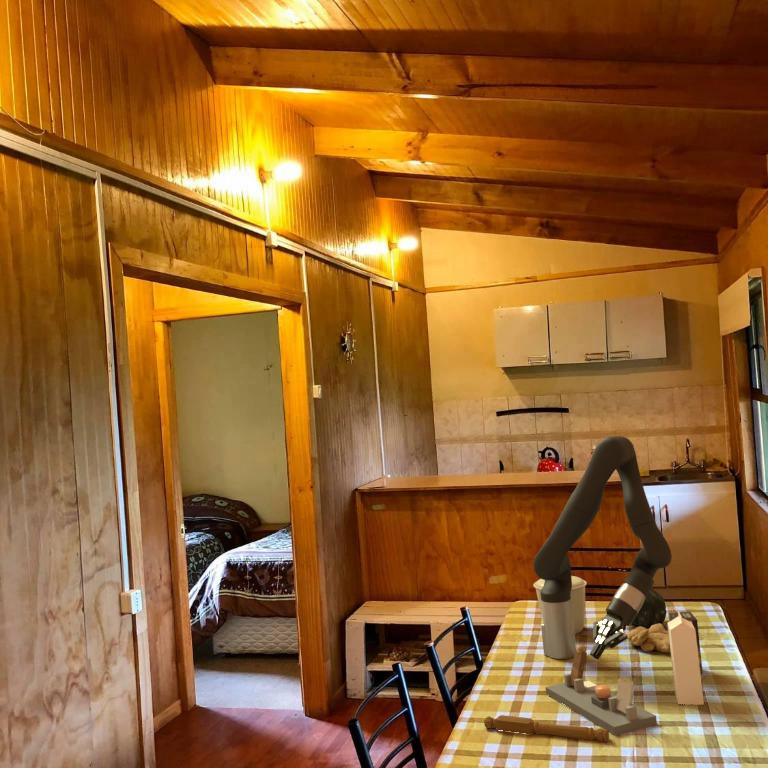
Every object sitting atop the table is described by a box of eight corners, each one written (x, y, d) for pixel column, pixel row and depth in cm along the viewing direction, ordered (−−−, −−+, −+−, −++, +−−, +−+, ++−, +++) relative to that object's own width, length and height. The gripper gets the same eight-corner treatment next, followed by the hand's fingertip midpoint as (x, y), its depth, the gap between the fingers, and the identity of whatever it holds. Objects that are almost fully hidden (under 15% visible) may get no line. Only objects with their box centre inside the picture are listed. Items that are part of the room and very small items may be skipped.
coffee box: (704, 679, 199) (697, 619, 200) (679, 680, 201) (673, 620, 201) (697, 667, 208) (690, 610, 209) (673, 668, 210) (667, 611, 210)
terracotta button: (605, 691, 187) (604, 683, 187) (613, 696, 183) (612, 688, 184) (593, 694, 186) (592, 686, 186) (601, 699, 182) (600, 691, 182)
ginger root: (626, 634, 239) (629, 611, 239) (677, 649, 232) (681, 624, 232) (618, 652, 225) (622, 627, 225) (673, 667, 218) (677, 641, 218)
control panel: (583, 685, 203) (581, 666, 204) (656, 724, 175) (654, 702, 175) (546, 694, 199) (544, 675, 199) (615, 735, 171) (612, 714, 171)
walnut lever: (575, 684, 199) (583, 644, 200) (582, 687, 196) (589, 647, 197) (567, 682, 198) (575, 642, 199) (573, 686, 195) (581, 645, 197)
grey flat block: (618, 707, 180) (621, 678, 181) (631, 714, 175) (634, 684, 176) (615, 707, 180) (618, 678, 181) (628, 714, 175) (631, 684, 176)
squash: (638, 599, 264) (621, 574, 258) (678, 606, 253) (662, 580, 246) (625, 633, 257) (607, 608, 250) (666, 642, 246) (649, 616, 239)
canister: (550, 621, 266) (544, 563, 267) (599, 626, 255) (592, 565, 256) (529, 636, 251) (523, 574, 252) (580, 641, 240) (573, 577, 241)
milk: (678, 705, 185) (668, 617, 186) (675, 695, 191) (665, 610, 192) (704, 705, 183) (693, 616, 184) (700, 695, 189) (690, 609, 190)
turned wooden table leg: (606, 732, 168) (482, 718, 181) (607, 745, 167) (483, 731, 181) (608, 726, 170) (486, 713, 184) (609, 739, 170) (487, 725, 184)
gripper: (602, 591, 209) (570, 643, 205) (632, 601, 197) (599, 656, 192) (619, 607, 211) (588, 658, 206) (650, 617, 199) (617, 672, 194)
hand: (593, 657), depth 199 cm, fingers closed
